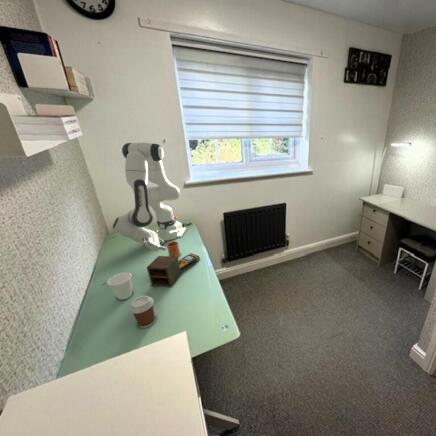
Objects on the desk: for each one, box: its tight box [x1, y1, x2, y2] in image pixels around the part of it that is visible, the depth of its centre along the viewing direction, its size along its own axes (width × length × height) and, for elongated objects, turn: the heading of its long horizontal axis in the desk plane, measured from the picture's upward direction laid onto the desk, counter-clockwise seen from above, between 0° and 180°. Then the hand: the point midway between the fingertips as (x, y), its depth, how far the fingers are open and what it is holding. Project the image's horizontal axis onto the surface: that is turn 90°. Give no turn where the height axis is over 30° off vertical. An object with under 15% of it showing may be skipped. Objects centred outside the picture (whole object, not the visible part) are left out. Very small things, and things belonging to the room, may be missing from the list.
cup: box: [106, 271, 133, 300], centre depth 118 cm, size 10×10×11 cm
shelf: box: [146, 255, 182, 288], centre depth 130 cm, size 11×11×12 cm
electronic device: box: [178, 252, 200, 272], centre depth 145 cm, size 8×16×3 cm, turn 154°
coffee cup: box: [128, 295, 156, 329], centre depth 103 cm, size 9×9×12 cm
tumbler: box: [166, 241, 181, 258], centre depth 153 cm, size 6×6×9 cm
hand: (164, 245), depth 149 cm, fingers open, 8 cm apart
